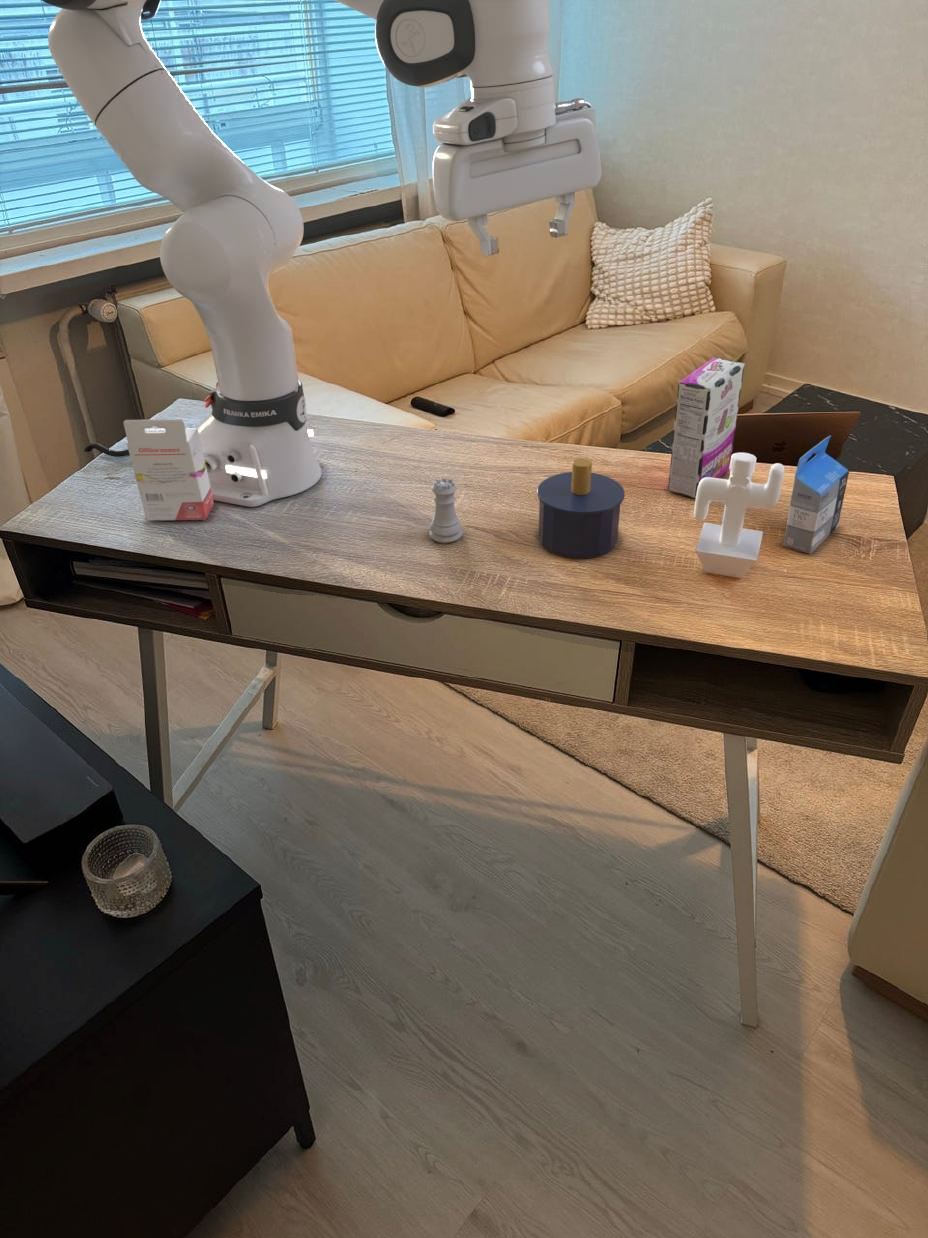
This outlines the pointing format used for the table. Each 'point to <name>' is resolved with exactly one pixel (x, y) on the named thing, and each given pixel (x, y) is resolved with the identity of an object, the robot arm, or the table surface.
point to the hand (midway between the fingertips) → (525, 245)
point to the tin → (578, 533)
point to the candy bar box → (705, 424)
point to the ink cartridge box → (169, 469)
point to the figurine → (734, 516)
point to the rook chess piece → (445, 513)
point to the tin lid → (580, 491)
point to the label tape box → (815, 499)
